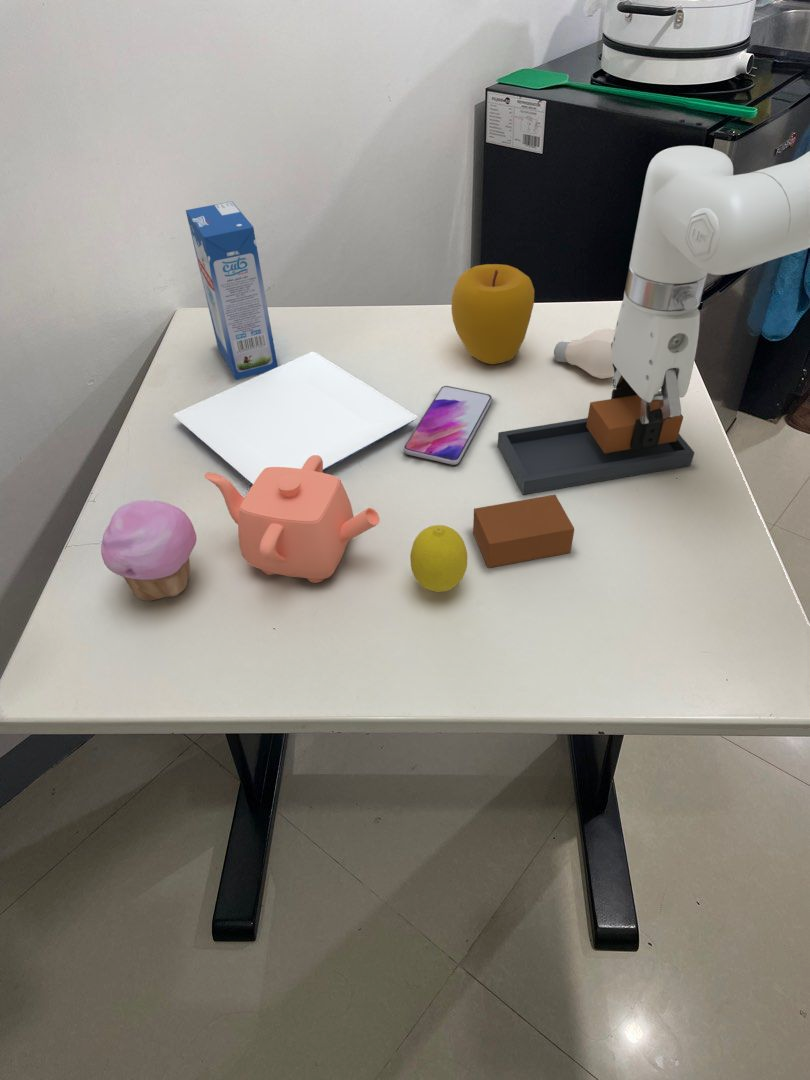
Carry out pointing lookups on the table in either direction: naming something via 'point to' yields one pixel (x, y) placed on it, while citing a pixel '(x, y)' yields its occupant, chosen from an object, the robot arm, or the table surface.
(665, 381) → the robot arm
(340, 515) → the teapot
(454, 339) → the table surface
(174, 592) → the cupcake
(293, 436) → the plate
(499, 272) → the apple
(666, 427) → the brown rectangular block
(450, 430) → the smartphone
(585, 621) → the table surface
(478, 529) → the brown brick
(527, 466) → the frame
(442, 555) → the lemon
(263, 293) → the milk carton
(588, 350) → the light bulb
